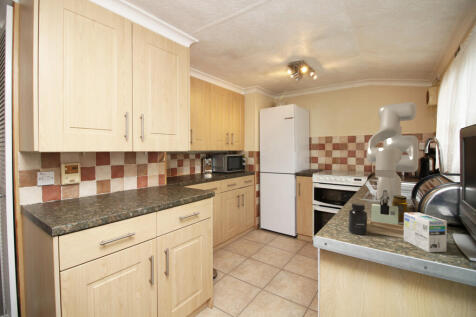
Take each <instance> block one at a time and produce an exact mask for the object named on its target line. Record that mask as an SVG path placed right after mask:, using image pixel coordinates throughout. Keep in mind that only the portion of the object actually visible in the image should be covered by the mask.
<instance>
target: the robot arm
mask: <svg viewBox="0 0 476 317" xmlns="http://www.w3.org/2000/svg"><path fill="white" fill-rule="evenodd" d="M417 109H418V108H417V104H416V103H415V102H413V101H411V102H410V101H409V102H401V103H400V102H399V103H391V104H385V105H382V106H380V107H379V108H378V117H379V120H380V121H379V130H378V131H376V132H375V133H374V134H373V135H372V136H371V137H370V138H369V140H368V142H367V146H366V153H365V154H366V159H367V161H368V162H370V163H374V164H375V168H374V173H375V176H374V178H376V179H377V183H376V184H377V186H376V187H377V189H376V190H377V191H376V193H377V194H376V198H377V200H380V201H379V205H380V214H384V215H389V206H392V201H393V196H395V195H399V196H402V178H401V177H400V176H399V175H398V172H399V173H415V172H417V171H418V168H419V149H420V148H419V139H418V138H417V136H415V135H402V134H403V133H402V132H403V131H402V125H401V122H406V121H413V120H415V119H416V115H417V111H418V110H417ZM380 142H383V143H382V144H383V146H381V147H380V146H379V147H378V146H377V145H378V143H380ZM403 153H406V154H403Z"/></svg>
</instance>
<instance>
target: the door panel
mask: <svg viewBox="0 0 476 317" xmlns="http://www.w3.org/2000/svg"><path fill="white" fill-rule="evenodd" d="M370 221H375V222H383V223H390V224H397V225H399V223H398V207H397V206H389V215H384V214H380V204H378V203H377V204H376V203H371V220H370Z"/></svg>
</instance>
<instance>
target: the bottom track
mask: <svg viewBox="0 0 476 317" xmlns="http://www.w3.org/2000/svg"><path fill="white" fill-rule="evenodd" d="M367 233H370V234H375V235H376V234H379V235H383V236H390V237H395V238H396V237H397V238H401V239H404V224H398V225H397V224H390V223H383V222H375V221H371V220H370V219H369V220H368V219H367Z"/></svg>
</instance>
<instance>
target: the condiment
mask: <svg viewBox="0 0 476 317" xmlns="http://www.w3.org/2000/svg"><path fill="white" fill-rule="evenodd" d="M392 206H397V207H398V225H404V213H408V201H407V196H404V195H401V196H399V195H395V196H393V201H392Z"/></svg>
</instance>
